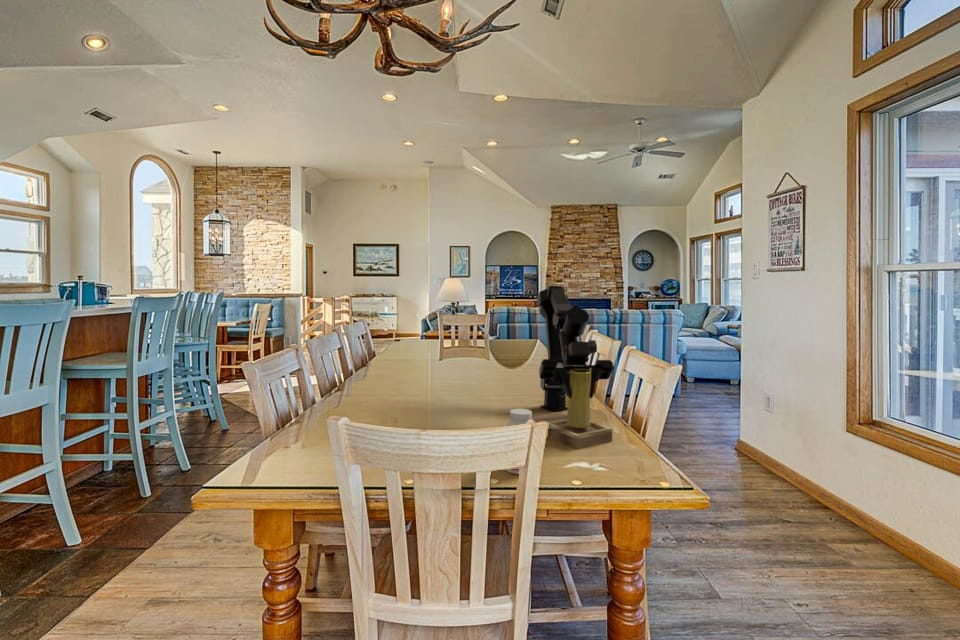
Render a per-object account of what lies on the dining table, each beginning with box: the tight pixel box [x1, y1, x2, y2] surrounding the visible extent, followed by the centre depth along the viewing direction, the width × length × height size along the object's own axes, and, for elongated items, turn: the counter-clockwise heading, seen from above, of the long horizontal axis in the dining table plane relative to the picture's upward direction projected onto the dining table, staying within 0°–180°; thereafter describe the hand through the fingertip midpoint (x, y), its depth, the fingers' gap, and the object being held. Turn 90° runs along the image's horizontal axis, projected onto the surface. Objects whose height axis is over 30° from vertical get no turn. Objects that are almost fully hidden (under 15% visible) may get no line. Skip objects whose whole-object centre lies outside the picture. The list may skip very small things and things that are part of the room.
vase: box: [566, 369, 591, 428], centre depth 134 cm, size 6×6×14 cm
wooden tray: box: [531, 412, 613, 450], centre depth 138 cm, size 20×12×3 cm, turn 32°
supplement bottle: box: [505, 408, 533, 475], centre depth 112 cm, size 7×7×13 cm
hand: (580, 397), depth 132 cm, fingers closed on vase, 5 cm apart
